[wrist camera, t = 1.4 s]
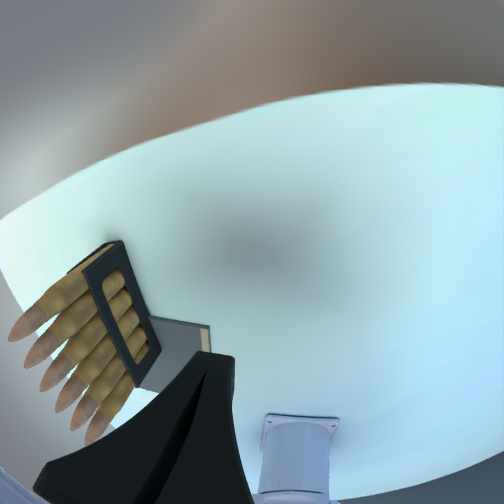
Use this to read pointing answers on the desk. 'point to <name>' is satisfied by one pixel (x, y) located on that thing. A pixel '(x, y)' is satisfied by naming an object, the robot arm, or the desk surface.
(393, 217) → the desk surface
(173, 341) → the mat
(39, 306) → the ammunition clip
